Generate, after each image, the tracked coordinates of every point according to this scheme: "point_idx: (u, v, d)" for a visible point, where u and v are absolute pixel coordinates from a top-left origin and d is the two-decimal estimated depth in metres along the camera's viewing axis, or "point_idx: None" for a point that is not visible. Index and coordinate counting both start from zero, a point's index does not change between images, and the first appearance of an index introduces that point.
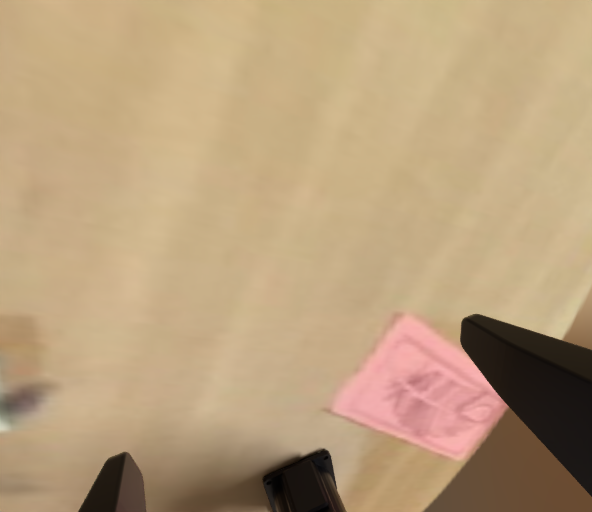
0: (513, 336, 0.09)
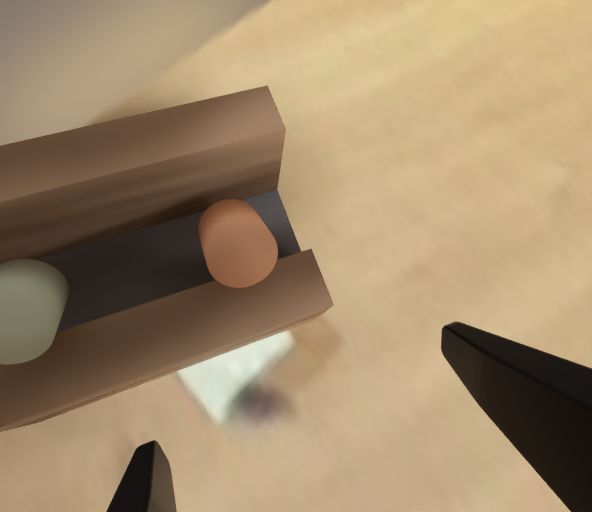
0: (491, 345, 0.09)
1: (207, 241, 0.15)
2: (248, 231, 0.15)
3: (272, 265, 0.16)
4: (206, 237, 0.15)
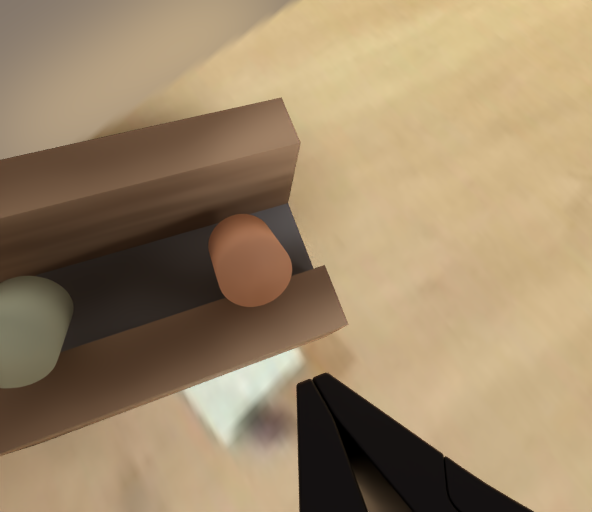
0: (345, 407, 0.08)
1: (219, 259, 0.14)
2: (262, 248, 0.14)
3: (286, 283, 0.15)
4: (218, 254, 0.15)
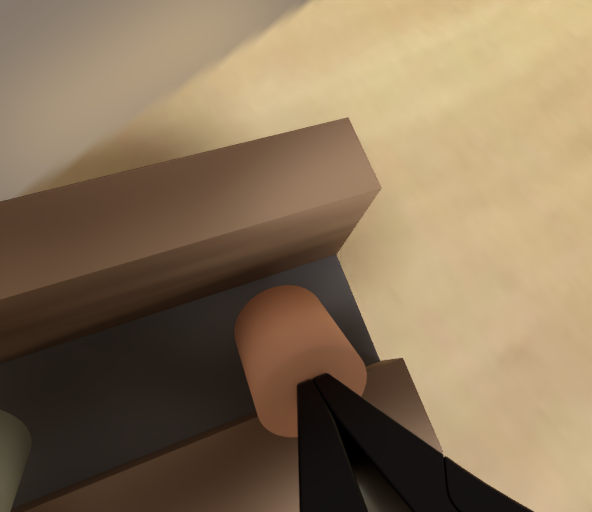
0: (345, 407, 0.08)
1: (258, 373, 0.09)
2: (326, 358, 0.09)
3: None
4: (255, 362, 0.09)
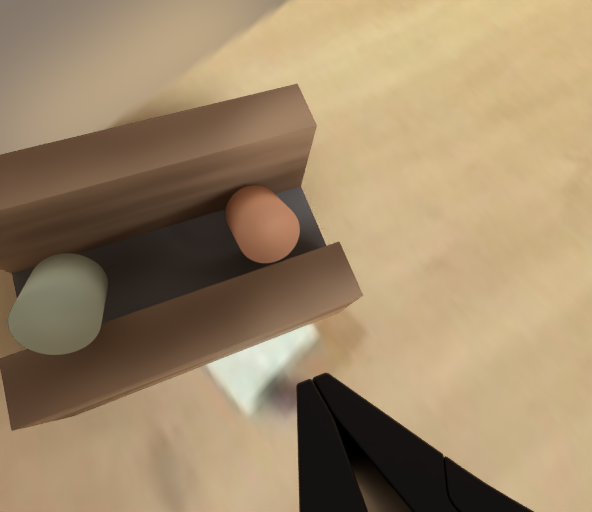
0: (345, 407, 0.08)
1: (237, 220, 0.17)
2: (274, 211, 0.17)
3: (294, 242, 0.18)
4: (236, 217, 0.17)
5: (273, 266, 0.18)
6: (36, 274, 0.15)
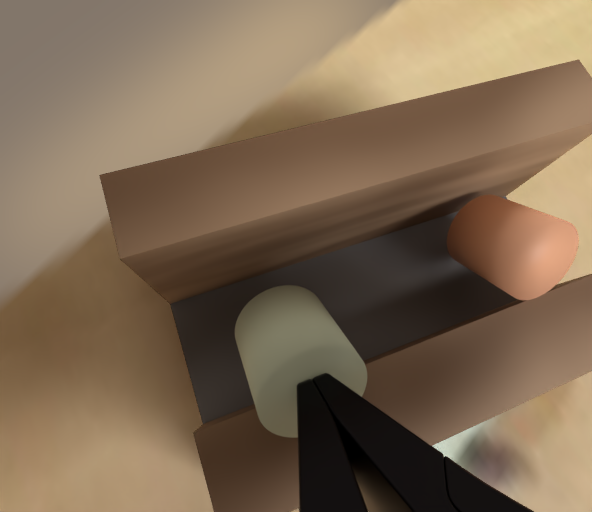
0: (345, 407, 0.08)
1: (507, 243, 0.12)
2: (559, 231, 0.12)
3: (564, 273, 0.13)
4: (498, 238, 0.13)
5: (526, 303, 0.14)
6: (273, 319, 0.10)
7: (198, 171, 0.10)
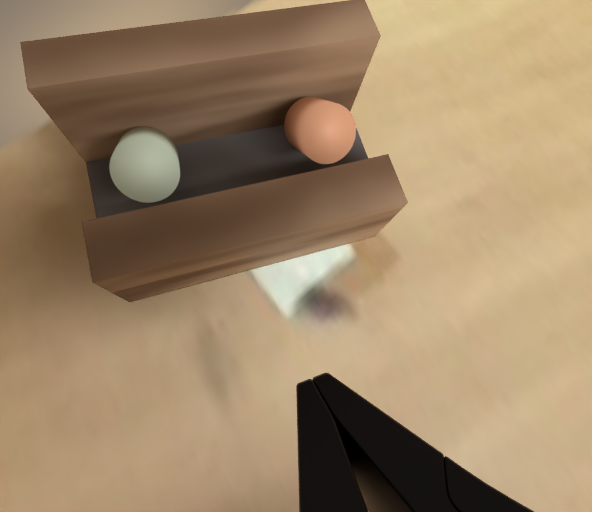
0: (345, 407, 0.08)
1: (301, 118, 0.18)
2: (336, 111, 0.18)
3: (349, 147, 0.19)
4: (299, 117, 0.19)
5: (327, 169, 0.20)
6: (129, 134, 0.18)
7: (83, 45, 0.16)
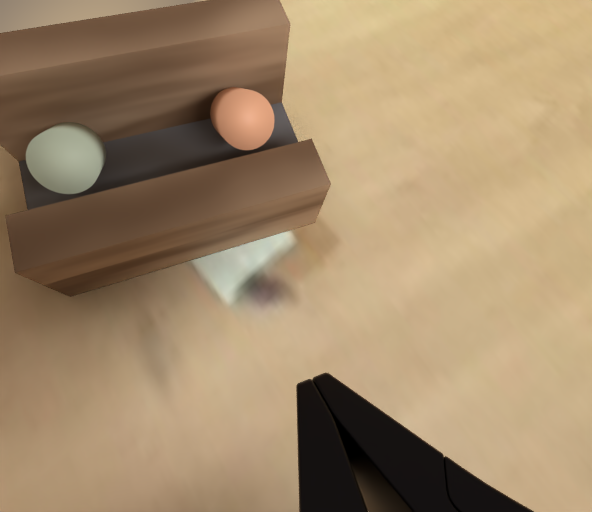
0: (345, 407, 0.08)
1: (218, 106, 0.19)
2: (251, 98, 0.19)
3: (270, 132, 0.20)
4: (217, 105, 0.19)
5: (251, 155, 0.20)
6: None
7: None
